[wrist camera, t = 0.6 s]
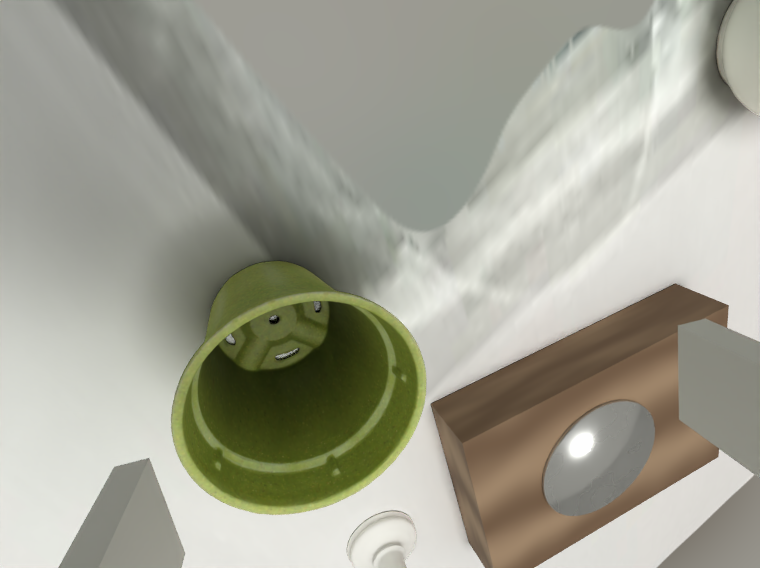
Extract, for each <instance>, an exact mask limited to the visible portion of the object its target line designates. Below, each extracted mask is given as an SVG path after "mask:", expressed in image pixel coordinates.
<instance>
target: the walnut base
mask: <svg viewBox="0 0 760 568" xmlns="http://www.w3.org/2000/svg"><path fill="white" fill-rule="evenodd" d="M728 307H729V305H726V304H724V303H722V302H719V301H717V300H714V299H712V298H709V297H707V296H704V295H702V294H699V293H697V292H695V291H692V290H690V289H687V288H685V287H682V286H680V285H677V284H674V285H672V286H670V287H668V288H666V289H664V290H662V291H660V292H658V293H656V294H654V295H652V296H650V297H648V298H646V299H643V300H641V301H639V302H637V303H635V304H633V305H631V306H629V307H627V308H625V309H623V310H621V311H619V312H617V313H615V314H613V315H611V316H609V317H607V318H605V319H603V320H601V321H599V322H597V323H595V324H593V325H591V326H589V327H586V328H584V329H582V330H580V331H578V332H576V333H574V334H572V335H570V336H568V337H566V338H564V339H562V340H560V341H558V342H556V343H554V344H552V345H550V346H548V347H546V348H544V349H542V350H540V351H538V352H536V353H534V354H532V355H529V356H527V357H525V358H523V359H521V360H519V361H517V362H515V363H513V364H511V365H509V366H507V367H505V368H503V369H501V370H499V371H497V372H495V373H493V374H491V375H489V376H487V377H485V378H483V379H481V380H479V381H477V382H475V383H472V384H470V385H468V386H466V387H464V388H462V389H460V390H458V391H456V392H454V393H452V394H450V395H448V396H446V397H444V398H442V399H440V400H438V401H436V402H434V403H432V404H431V407H432V410H433V414H434V418H435V421H436V425H437V428H438V432H439V436H440V439H441V443H442V446H443V450H444V454H445V457H446V461H447V464H448V468H449V472H450V475H451V479H452V482H453V486H454V490H455V493H456V497H457V501H458V504H459V508H460V511H461V515H462V519H463V522H464V526H465V529H466V533H467V537H468V540H469V543H470V545H471V546H472V548H473V549H474V551H475V553H476V554H477V556H478V557H479V559H480V560H481V562H482V563H483V565H484V567H485V568H534V567H536V566H538V565H539V564H541V563H543V562H544V561H546V560H548V559H549V558H551V557H553V556H554V555H556V554H558V553H559V552H561V551H563V550H564V549H566V548H568V547H569V546H571V545H573V544H574V543H576V542H578V541H579V540H581V539H583V538H584V537H586V536H588V535H589V534H591V533H593V532H594V531H596V530H598V529H599V528H601V527H603V526H604V525H606V524H608V523H609V522H611V521H613V520H614V519H616V518H618V517H619V516H621V515H623V514H624V513H626V512H628V511H629V510H631V509H632V508H634V507H636V506H637V505H639V504H641V503H642V502H644V501H646V500H647V499H649V498H651V497H652V496H654V495H656V494H657V493H659V492H661V491H662V490H664V489H666V488H667V487H669V486H671V485H672V484H674V483H676V482H677V481H679V480H681V479H682V478H684V477H686V476H687V475H689V474H691V473H692V472H694V471H696V470H697V469H699V468H701V467H702V466H704V465H706V464H707V463H709V462H711V461H712V460H714V459H716V458H717V457H718V454H719V448H718V447H716V446H715V445H713V444H712V443H711V442H709V441H708V440H706V439H705V438H704V437H702V436H701V435H700V434H698V433H697V432H695V431H694V430H693V429H691V428H690V427H689V426H687V425H686V424H684V423H683V422H682V421H680V420H679V382H678V325H682V324H686V323H690V322H694V321H698V320H702V319H707V320H710V321H712V322H714V323H717V324H719V325H721V326H724V327H726V328H727V321H728Z"/></svg>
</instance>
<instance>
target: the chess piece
mask: <svg viewBox="0 0 760 568" xmlns="http://www.w3.org/2000/svg"><path fill="white" fill-rule="evenodd" d="M416 539H417V534H416V530H415V527H414V524H413V521H412V520H411V518H410V517H409V516H408V515H406V514H404V513H402V512H397V511H389V512H384V513H380V514H377V515H375V516H373V517H371V518H369V519H368V520H366V521H365V522H364V523H362V524H361V525H360V526H359V527H358V528H357V529H356V530H355V532H354V533H353V534H352V536H351V538H350V540H349V543H348V546H347V555H348V558H349V560H350V562H351V563H352V565H353V567H354V568H406V565H405V560H406V559H407V558H408V557H409V555H410V554H411V552H412V551H413V549H414V547H415V544H416Z"/></svg>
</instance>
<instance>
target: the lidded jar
mask: <svg viewBox="0 0 760 568" xmlns="http://www.w3.org/2000/svg"><path fill="white" fill-rule="evenodd" d="M716 60H717V66H718V70H719V73H720V75H721V77H722V79H723V80H724V81H725V83H726V84H727V85H729V86H730V88H731V90H732V92H733V93H734V95H735V96H736V98H737V99H738V100H739V101H740V102H741V104H743V105H744V106H745V107H746V108H747V109H748V110H749V111H751V112H752V113H754V114H756V115H757V116H759V117H760V0H733V1H732V3H731V4H730V6H729V8H728V9H727V11H726V13H725V16H724V18H723V20H722V23H721V26H720V30H719V33H718V38H717V45H716Z"/></svg>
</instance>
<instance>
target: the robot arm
mask: <svg viewBox="0 0 760 568" xmlns="http://www.w3.org/2000/svg"><path fill="white" fill-rule="evenodd" d="M678 382H679V420H680V421H682V422H683V423H684V424H686V425H687V426H689V427H690V428H691V429H693V430H694V431H695V432H697V433H698V434H700V435H701V436H702V437H704V438H705V439H706V440H708V441H709V442H711V443H712V444H713V445H715V446H716V447H718V448H719V449H720V450H722V451H723V452H724V453H726V454H727V455H729V456H730V457H731V458H733V459H734V460H735V461H737V462H738V463H740V464H741V465H742V466H744V467H745V468H746V469H748V470H749V471H751V472H752V473H753V474H755V475H756V476H758V477H759V478H760V342H758V341H756V340H754V339H751V338H749V337H747V336H745V335H742V334H740V333H738V332H735V331H733V330H731V329H728V328H726V327H724V326H721V325H719V324H717V323H714V322H712V321H710V320H707V319H702V320H698V321H694V322H690V323H686V324H682V325H678ZM184 556H185V552H184V549H183V546H182V544H181V541H180V539H179V536H178V533H177V531H176V528H175V525H174V523H173V520H172V517H171V515H170V512H169V509H168V507H167V504H166V502H165V499H164V496H163V494H162V491H161V488H160V486H159V483H158V480H157V478H156V475H155V472H154V470H153V467H152V464H151V462H150V459H149V458H148V459H144V460H140V461H136V462H132V463H128V464H124V465H120V466H116V467H114V469H113V470H112V472H111V474H110V476H109V478H108V479H107V481H106V483H105V485H104V487H103V488H102V490H101V492H100V494H99V496H98V497H97V499H96V501H95V503H94V505H93V506H92V508H91V510H90V512H89V514H88V515H87V517H86V519H85V521H84V523H83V524H82V526H81V528H80V530H79V532H78V533H77V535H76V537H75V539H74V541H73V542H72V544H71V546H70V548H69V550H68V551H67V553H66V555H65V557H64V559H63V560H62V562H61V564H60V566H59V568H181V567H182V563H183V560H184Z"/></svg>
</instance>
